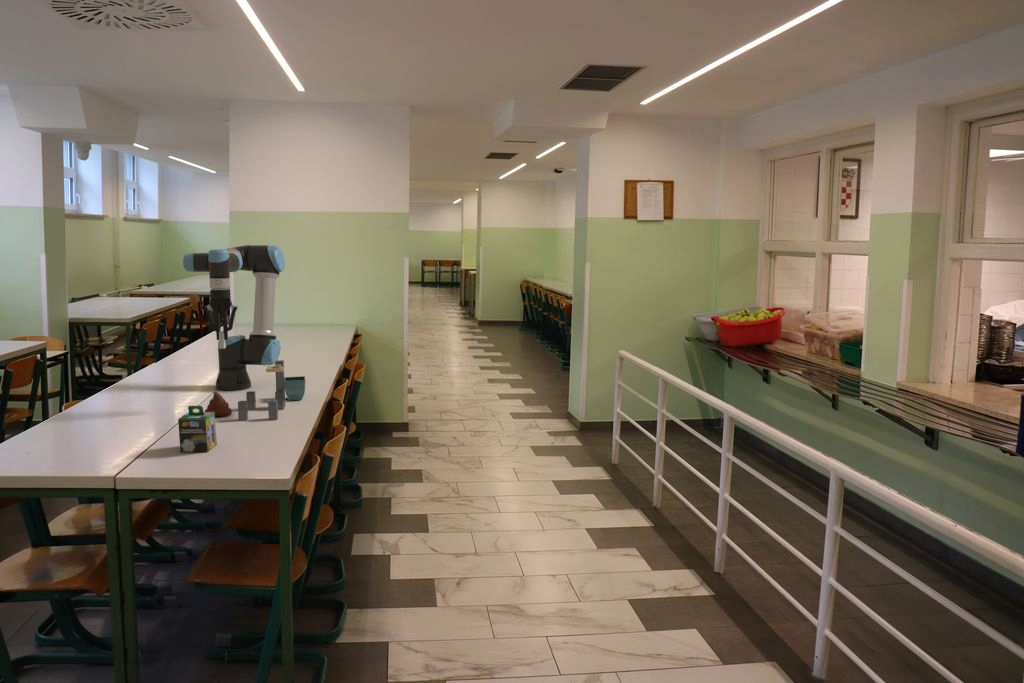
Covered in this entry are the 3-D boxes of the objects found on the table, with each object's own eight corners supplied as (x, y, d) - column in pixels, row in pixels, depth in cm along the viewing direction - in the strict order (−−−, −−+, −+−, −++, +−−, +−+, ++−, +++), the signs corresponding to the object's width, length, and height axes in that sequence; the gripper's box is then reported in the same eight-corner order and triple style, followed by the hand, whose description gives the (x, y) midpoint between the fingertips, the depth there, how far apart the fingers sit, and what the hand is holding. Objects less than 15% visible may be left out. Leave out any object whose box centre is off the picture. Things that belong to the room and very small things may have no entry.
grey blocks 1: (238, 420, 302) (237, 402, 301) (248, 408, 322) (247, 391, 321) (246, 420, 303) (246, 402, 302) (256, 408, 322) (255, 391, 321)
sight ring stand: (267, 415, 311) (265, 367, 308) (273, 406, 326) (272, 360, 323) (283, 415, 311) (282, 367, 309) (289, 406, 327) (287, 360, 324)
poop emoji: (203, 418, 305) (202, 394, 304) (205, 413, 313) (204, 390, 312) (231, 417, 308) (230, 393, 307) (232, 412, 316) (231, 389, 315)
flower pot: (284, 402, 334) (283, 380, 333) (284, 397, 343) (283, 377, 342) (306, 401, 337) (305, 380, 336) (305, 396, 345) (305, 376, 344)
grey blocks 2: (268, 420, 304) (268, 401, 303) (276, 408, 324) (276, 391, 322) (276, 419, 304) (276, 401, 303) (284, 407, 324) (283, 390, 323)
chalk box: (217, 445, 270) (215, 401, 268) (207, 452, 261) (205, 408, 258) (189, 444, 269) (187, 401, 267) (179, 452, 260) (176, 408, 258)
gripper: (200, 289, 311) (203, 349, 315) (235, 289, 313) (238, 349, 317) (204, 288, 319) (207, 346, 322) (239, 288, 320) (241, 346, 324)
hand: (222, 348), depth 319 cm, fingers closed
